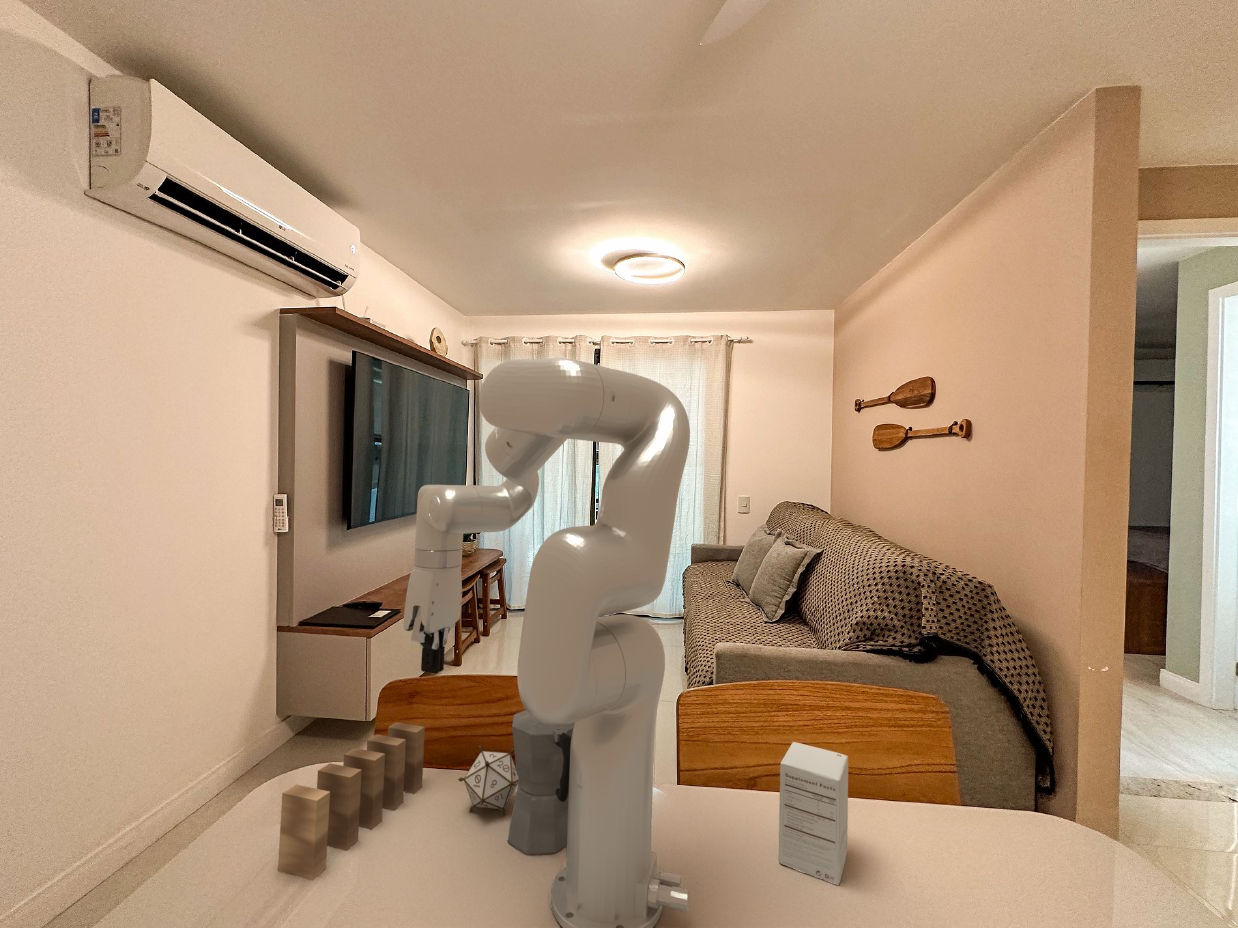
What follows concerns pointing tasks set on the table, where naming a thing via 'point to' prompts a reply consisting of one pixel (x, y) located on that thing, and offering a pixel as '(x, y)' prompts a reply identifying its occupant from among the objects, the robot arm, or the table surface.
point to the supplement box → (814, 811)
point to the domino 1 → (304, 831)
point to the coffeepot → (540, 786)
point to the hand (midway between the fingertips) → (432, 670)
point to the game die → (491, 780)
